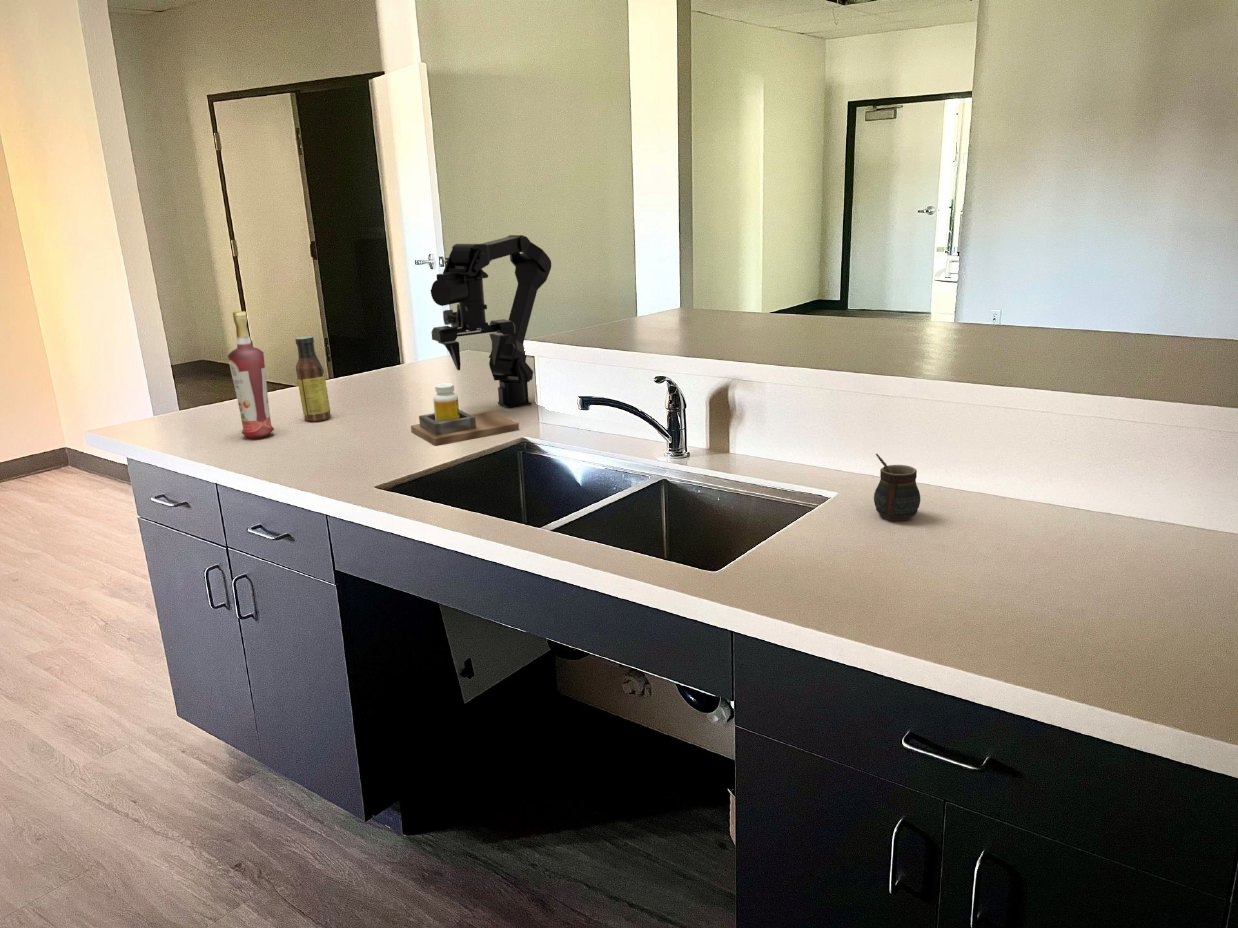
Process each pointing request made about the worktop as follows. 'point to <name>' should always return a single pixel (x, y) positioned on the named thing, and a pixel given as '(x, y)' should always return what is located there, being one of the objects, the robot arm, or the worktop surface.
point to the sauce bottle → (311, 382)
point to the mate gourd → (897, 492)
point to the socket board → (462, 427)
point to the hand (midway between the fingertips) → (476, 367)
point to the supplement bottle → (445, 403)
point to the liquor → (250, 382)
